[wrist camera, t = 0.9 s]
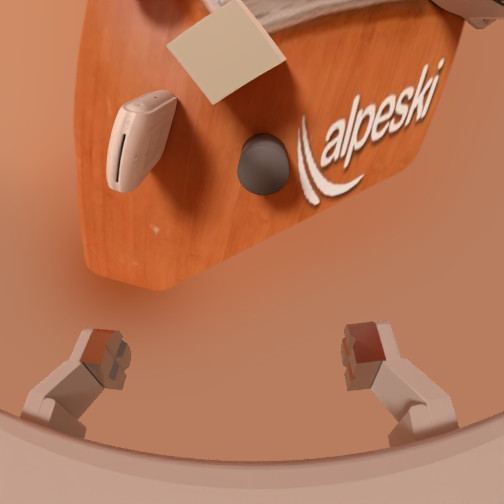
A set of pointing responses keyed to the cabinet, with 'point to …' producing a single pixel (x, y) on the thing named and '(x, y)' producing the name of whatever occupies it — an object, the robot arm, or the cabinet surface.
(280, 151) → the charcoal cylinder
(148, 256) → the cabinet surface
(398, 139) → the cabinet surface
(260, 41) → the tower top block
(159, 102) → the photo printer
